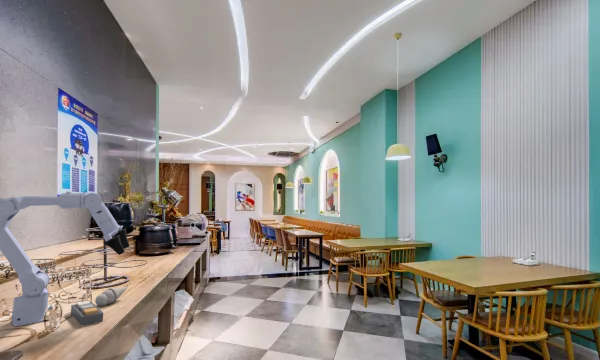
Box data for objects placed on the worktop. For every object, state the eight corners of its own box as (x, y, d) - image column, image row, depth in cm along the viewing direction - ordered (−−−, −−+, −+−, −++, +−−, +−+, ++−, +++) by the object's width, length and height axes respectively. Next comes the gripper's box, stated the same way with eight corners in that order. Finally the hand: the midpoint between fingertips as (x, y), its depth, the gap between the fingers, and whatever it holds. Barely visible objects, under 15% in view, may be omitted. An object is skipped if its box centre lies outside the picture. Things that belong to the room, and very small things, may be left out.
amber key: (85, 315, 112) (85, 312, 112) (83, 313, 114) (83, 309, 114) (97, 313, 114) (97, 309, 114) (94, 310, 117) (95, 307, 117)
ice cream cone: (129, 296, 142) (98, 313, 128) (120, 286, 144) (88, 302, 129) (135, 287, 141) (104, 302, 127) (126, 277, 142) (95, 291, 128)
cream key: (78, 308, 119) (79, 305, 119) (76, 305, 121) (76, 302, 121) (90, 306, 121) (90, 303, 121) (87, 303, 124) (88, 300, 124)
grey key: (82, 311, 115) (82, 308, 115) (79, 309, 118) (80, 306, 118) (93, 309, 118) (94, 306, 118) (91, 307, 120) (91, 303, 120)
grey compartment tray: (81, 326, 110) (81, 317, 110) (70, 313, 121) (71, 304, 121) (102, 321, 114) (103, 312, 114) (90, 309, 126) (91, 301, 126)
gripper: (110, 220, 119) (129, 251, 122) (120, 212, 133) (138, 240, 136) (91, 229, 118) (111, 260, 121) (104, 220, 132) (122, 248, 135)
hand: (124, 250), depth 128 cm, fingers open, 7 cm apart
